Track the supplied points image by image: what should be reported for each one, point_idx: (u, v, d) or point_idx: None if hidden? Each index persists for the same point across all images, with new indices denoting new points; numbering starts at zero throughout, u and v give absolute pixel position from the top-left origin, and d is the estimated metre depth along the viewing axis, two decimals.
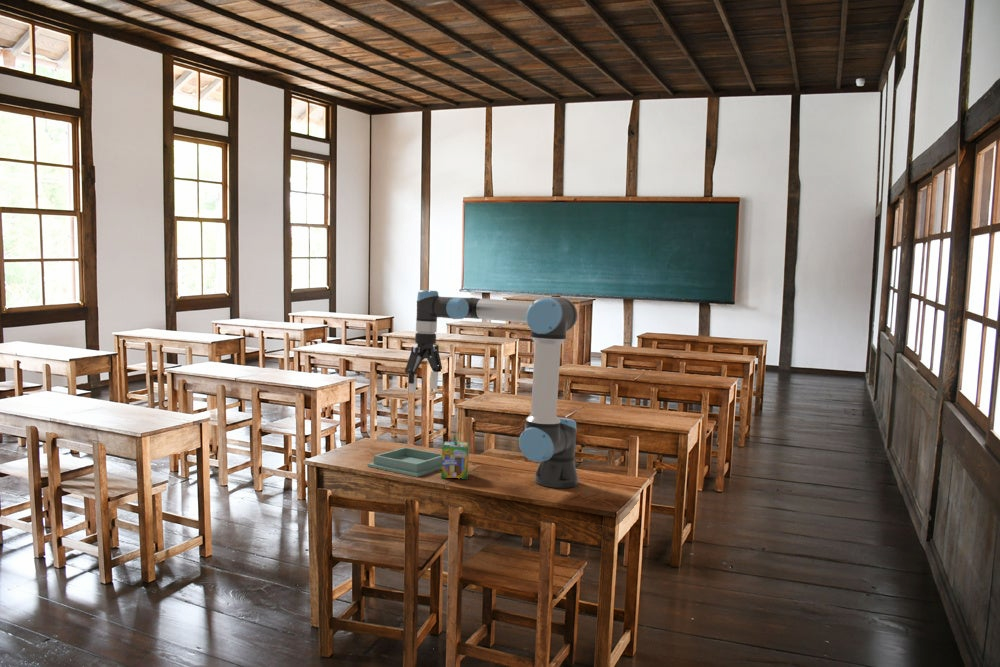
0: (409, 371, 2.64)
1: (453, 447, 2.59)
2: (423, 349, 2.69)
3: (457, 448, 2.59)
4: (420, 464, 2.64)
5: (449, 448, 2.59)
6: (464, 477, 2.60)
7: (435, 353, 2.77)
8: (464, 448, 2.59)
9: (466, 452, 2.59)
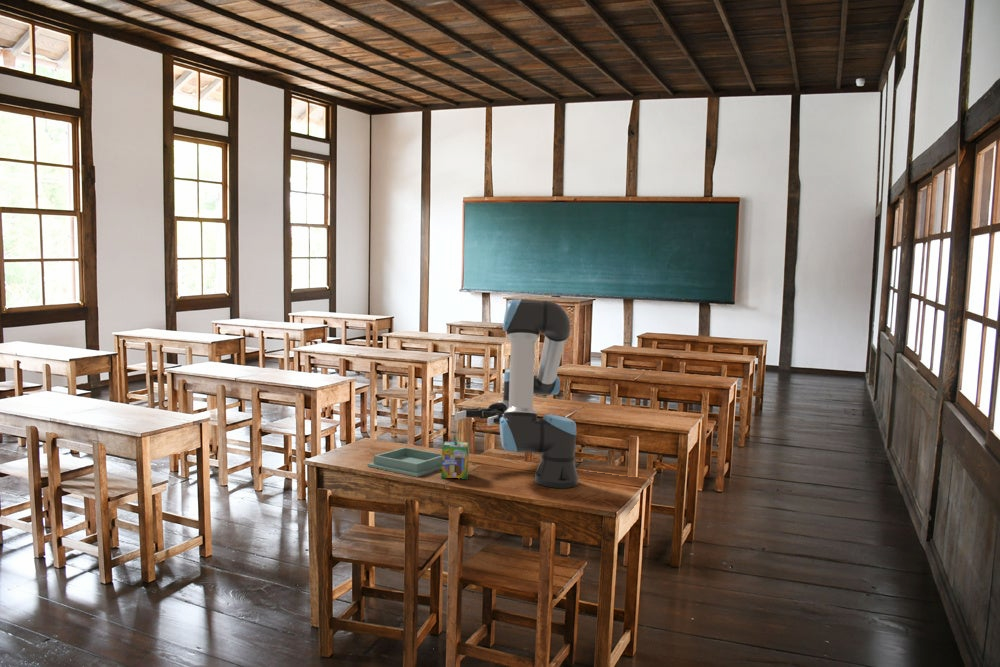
0: None
1: (453, 447, 2.59)
2: None
3: (457, 448, 2.59)
4: (420, 464, 2.64)
5: (449, 448, 2.59)
6: (464, 477, 2.60)
7: (504, 415, 2.81)
8: (464, 448, 2.59)
9: (466, 452, 2.59)
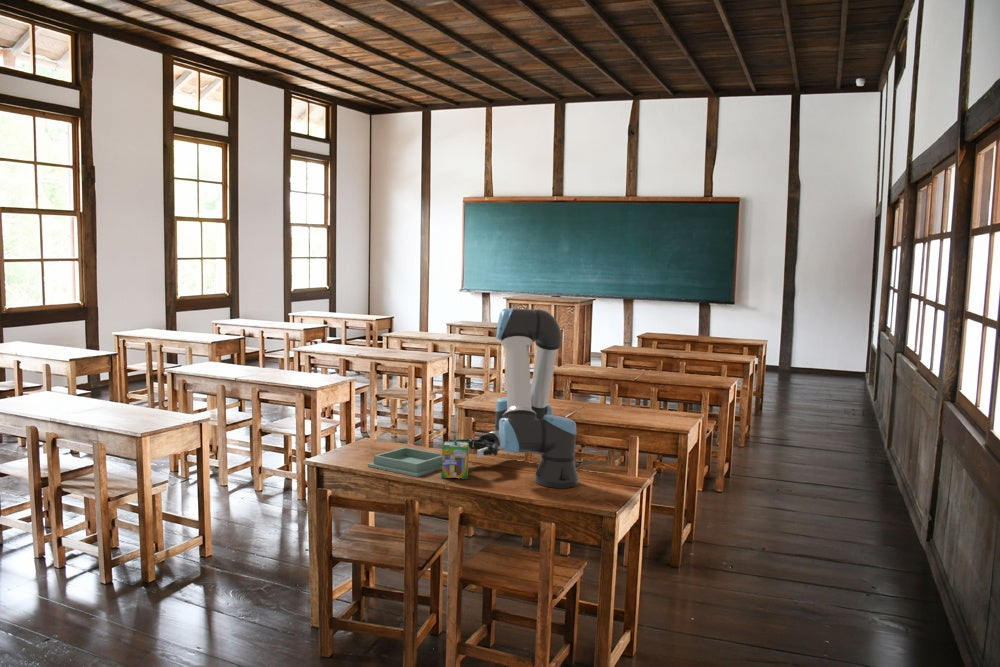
0: None
1: (453, 447, 2.59)
2: None
3: (457, 448, 2.59)
4: (420, 464, 2.64)
5: (449, 448, 2.59)
6: (464, 477, 2.60)
7: (494, 446, 2.77)
8: (464, 448, 2.59)
9: (466, 452, 2.59)
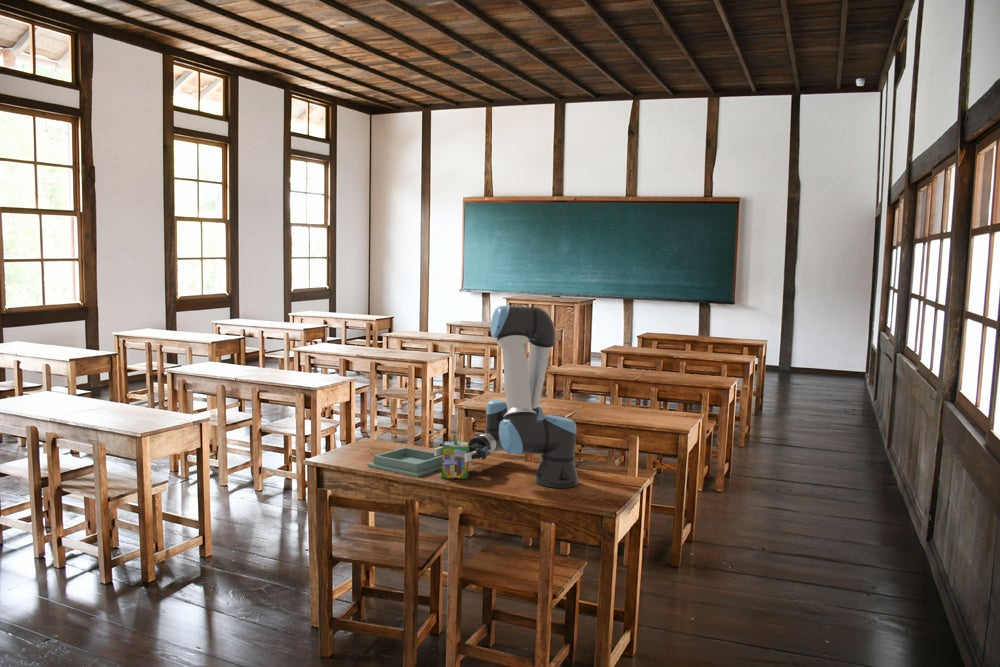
0: None
1: (453, 447, 2.59)
2: None
3: (457, 448, 2.59)
4: (420, 464, 2.64)
5: (449, 448, 2.59)
6: (464, 477, 2.60)
7: None
8: (464, 448, 2.59)
9: (466, 452, 2.59)
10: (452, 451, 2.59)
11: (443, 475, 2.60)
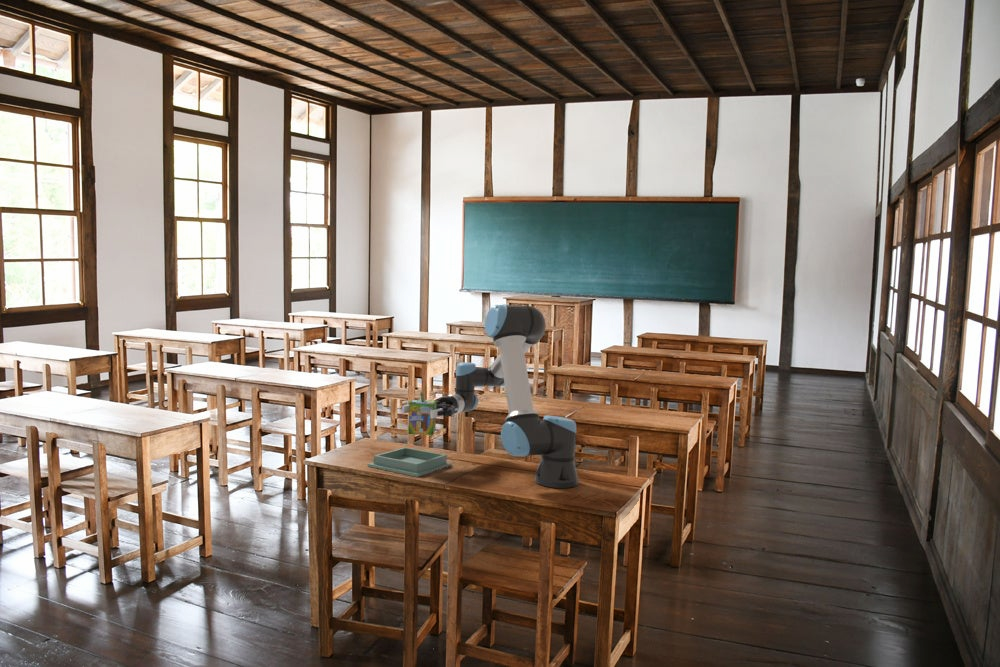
0: None
1: (420, 404, 2.68)
2: None
3: (423, 405, 2.68)
4: (420, 464, 2.64)
5: (416, 405, 2.68)
6: (430, 433, 2.68)
7: None
8: (430, 405, 2.68)
9: (432, 409, 2.68)
10: (419, 408, 2.68)
11: (410, 431, 2.69)
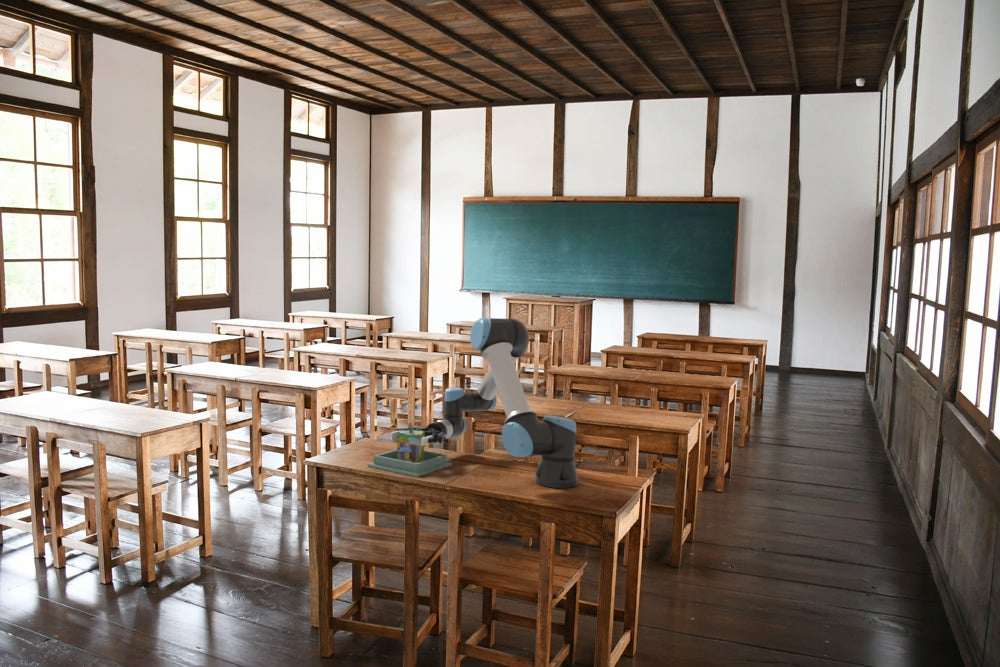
0: None
1: (408, 435, 2.70)
2: None
3: (412, 436, 2.70)
4: (420, 464, 2.64)
5: (404, 436, 2.70)
6: None
7: None
8: (418, 436, 2.70)
9: (420, 440, 2.70)
10: (407, 439, 2.70)
11: None
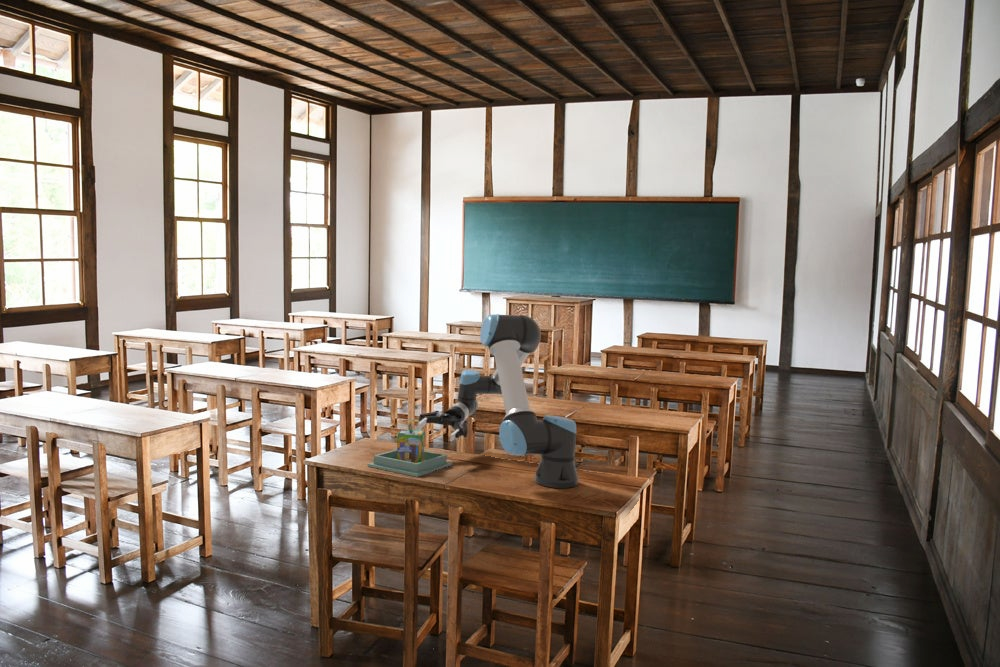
0: None
1: (408, 435, 2.70)
2: None
3: (412, 436, 2.70)
4: (420, 464, 2.64)
5: (404, 436, 2.70)
6: None
7: (463, 424, 2.90)
8: (418, 436, 2.70)
9: (420, 440, 2.70)
10: (407, 439, 2.70)
11: None
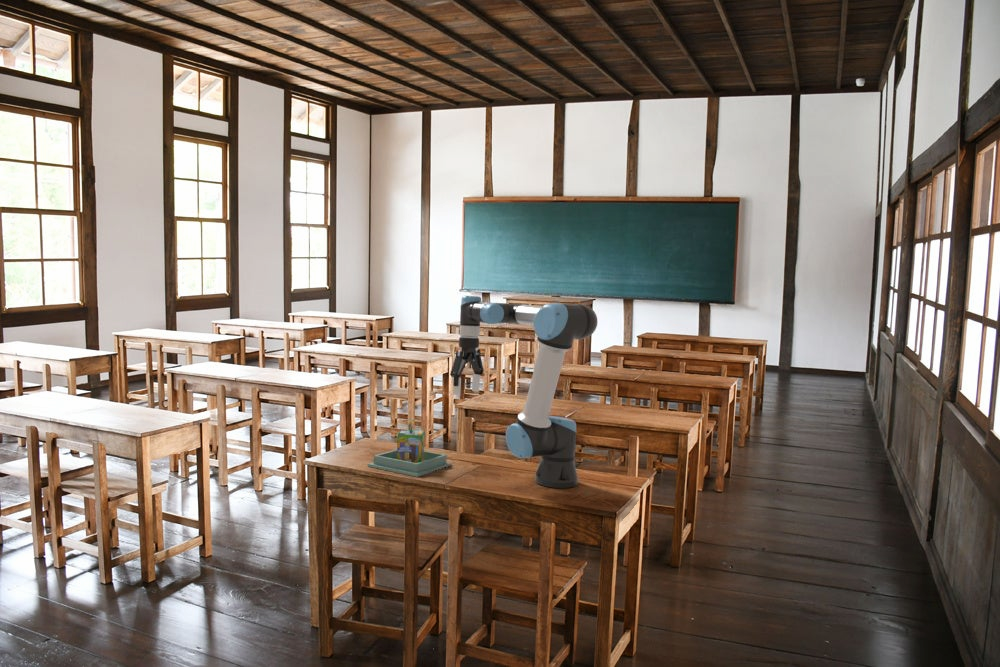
0: (454, 374, 2.73)
1: (408, 435, 2.70)
2: (467, 353, 2.78)
3: (412, 436, 2.70)
4: (420, 464, 2.64)
5: (404, 436, 2.70)
6: None
7: (477, 356, 2.86)
8: (418, 436, 2.70)
9: (420, 440, 2.70)
10: (407, 439, 2.70)
11: None
